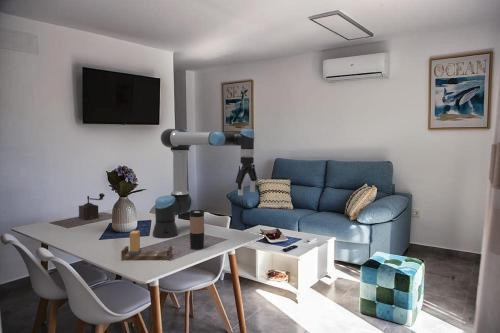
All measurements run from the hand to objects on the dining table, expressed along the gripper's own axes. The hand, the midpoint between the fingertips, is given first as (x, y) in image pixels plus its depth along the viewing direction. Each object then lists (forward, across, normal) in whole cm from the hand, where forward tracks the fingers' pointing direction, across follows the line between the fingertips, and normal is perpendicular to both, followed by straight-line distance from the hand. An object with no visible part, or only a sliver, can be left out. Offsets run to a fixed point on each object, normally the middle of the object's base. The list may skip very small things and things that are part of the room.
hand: (246, 193), depth 208 cm
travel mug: (+28, -25, +16) cm, 41 cm away
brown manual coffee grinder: (+30, -7, +127) cm, 130 cm away
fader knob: (+25, -53, +32) cm, 67 cm away
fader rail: (+28, -50, +27) cm, 63 cm away
